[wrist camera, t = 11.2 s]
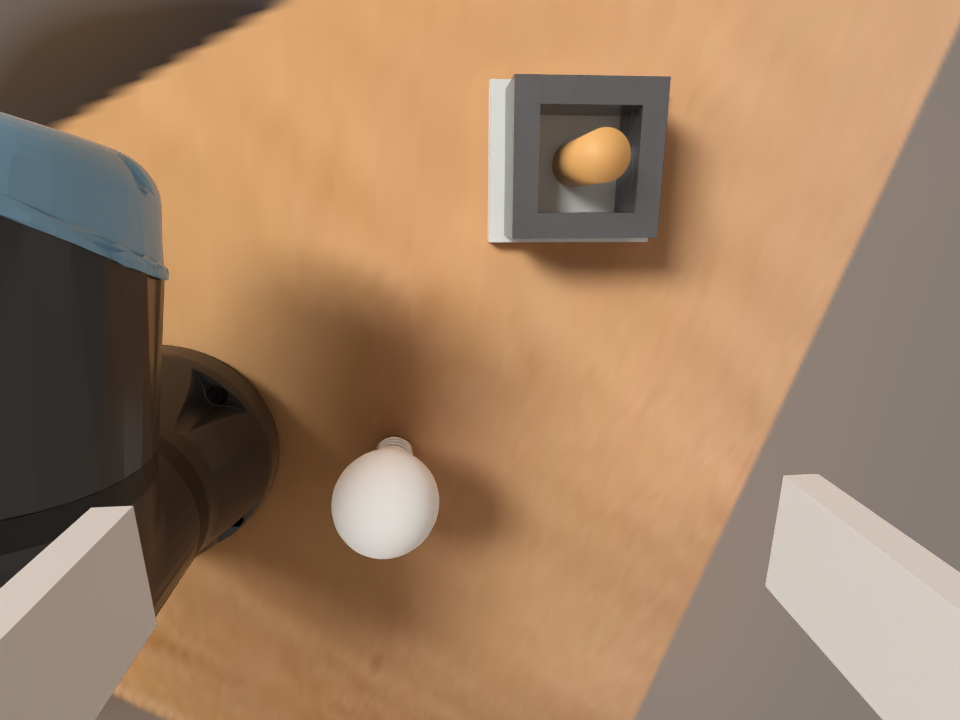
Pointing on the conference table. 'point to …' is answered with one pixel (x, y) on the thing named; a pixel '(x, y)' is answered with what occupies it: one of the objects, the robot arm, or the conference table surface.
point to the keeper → (560, 165)
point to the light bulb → (385, 501)
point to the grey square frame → (585, 96)
